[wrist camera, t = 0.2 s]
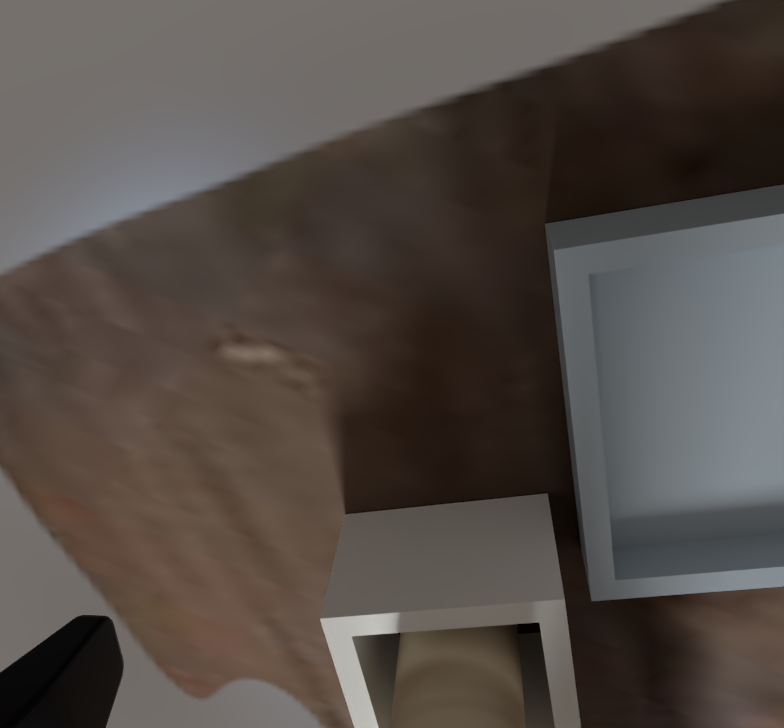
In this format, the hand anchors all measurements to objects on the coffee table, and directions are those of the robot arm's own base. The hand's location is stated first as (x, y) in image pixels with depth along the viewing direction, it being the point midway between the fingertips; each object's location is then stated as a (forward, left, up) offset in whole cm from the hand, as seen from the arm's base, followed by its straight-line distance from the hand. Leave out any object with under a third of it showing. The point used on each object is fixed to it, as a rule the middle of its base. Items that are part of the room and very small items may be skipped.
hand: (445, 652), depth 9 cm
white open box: (-12, +2, -14) cm, 18 cm away
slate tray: (-5, -10, -14) cm, 18 cm away
